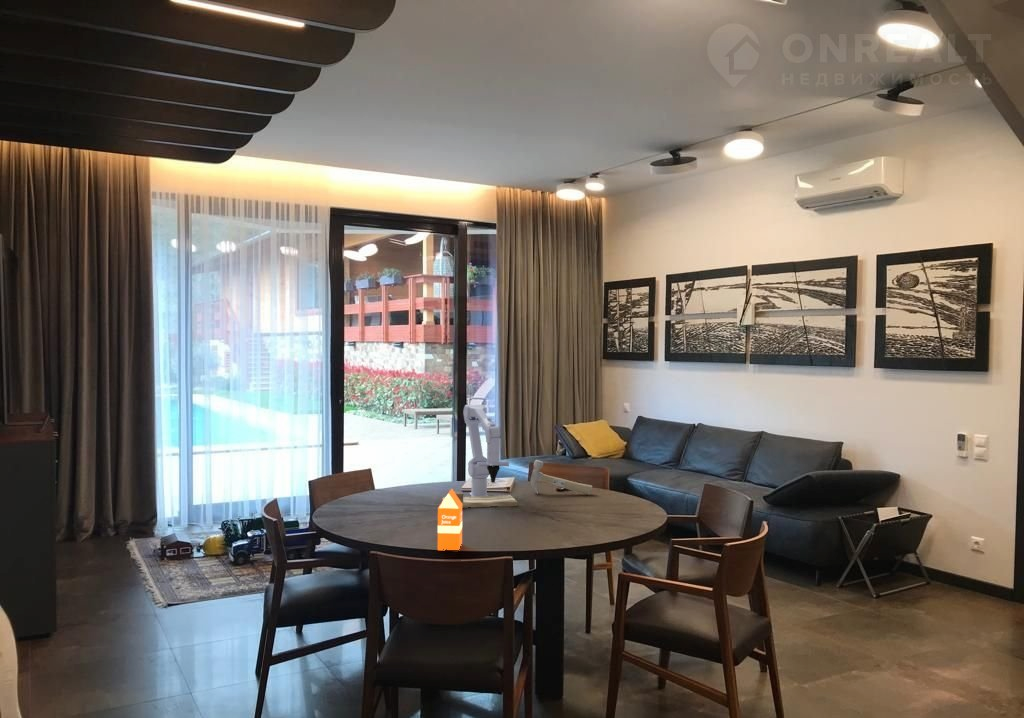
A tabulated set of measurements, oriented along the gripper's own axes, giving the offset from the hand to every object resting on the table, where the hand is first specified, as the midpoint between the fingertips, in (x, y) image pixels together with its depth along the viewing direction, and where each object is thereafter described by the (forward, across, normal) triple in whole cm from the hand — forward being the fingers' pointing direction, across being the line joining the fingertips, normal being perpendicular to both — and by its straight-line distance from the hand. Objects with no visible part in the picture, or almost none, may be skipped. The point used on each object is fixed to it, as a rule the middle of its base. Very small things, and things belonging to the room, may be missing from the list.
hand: (492, 482), depth 322 cm
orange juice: (+9, -27, -71) cm, 77 cm away
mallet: (+7, -17, -3) cm, 19 cm away
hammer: (+10, +36, +14) cm, 40 cm away
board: (+9, -6, -2) cm, 11 cm away
